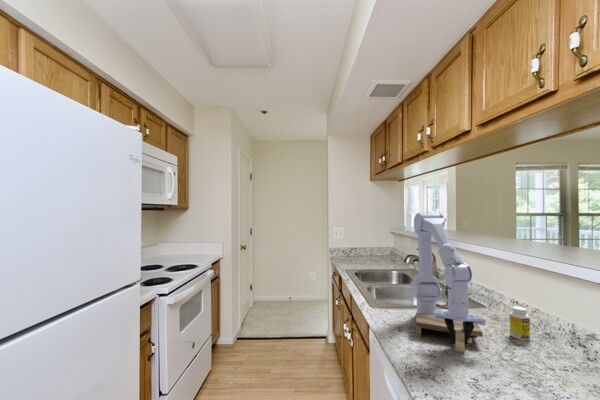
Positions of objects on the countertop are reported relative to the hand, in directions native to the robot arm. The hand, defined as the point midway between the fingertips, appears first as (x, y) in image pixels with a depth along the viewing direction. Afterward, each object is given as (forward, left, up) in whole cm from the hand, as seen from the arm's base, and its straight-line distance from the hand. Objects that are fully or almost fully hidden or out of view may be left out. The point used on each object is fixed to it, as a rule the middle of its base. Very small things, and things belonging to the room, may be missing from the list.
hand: (458, 343), depth 88 cm
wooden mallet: (-5, 0, -2) cm, 5 cm away
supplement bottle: (-18, +21, -2) cm, 28 cm away
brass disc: (-7, +2, -2) cm, 8 cm away
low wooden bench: (-9, -3, -2) cm, 10 cm away
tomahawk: (-43, -1, -2) cm, 43 cm away
